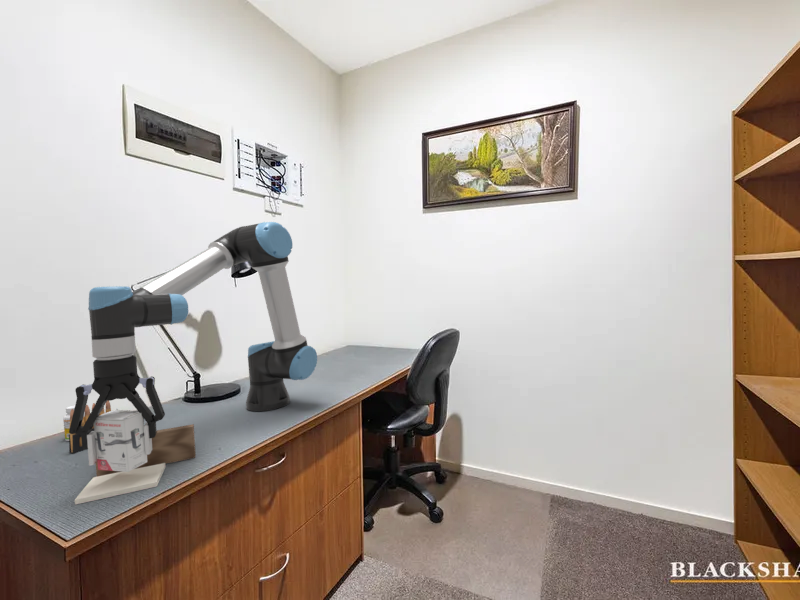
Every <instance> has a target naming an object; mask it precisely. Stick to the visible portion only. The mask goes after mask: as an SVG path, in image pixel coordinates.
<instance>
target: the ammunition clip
mask: <svg viewBox="0 0 800 600" xmlns="http://www.w3.org/2000/svg"><path fill="white" fill-rule="evenodd" d="M95 404H96V402H94V403H92V407H91V409H90V407H89V405H88V404H86V408H85V420H84V417H83V421H82V425H81V426H84V424H85V423H86V421H87V419H88V417H89V415H90V413H91V411H92V410H93V408H94V406H95ZM110 411H112V408H111V402H110V401H108V400H107V402H106V403H105V406H104V407H103V409H102V411H101V413H100V414H99V416H100V415H102V414H104V413H107V412H110ZM73 413H74V410H73V409H71V412H70V425H71V421H72V417H73ZM70 425H69V427H70ZM91 431H94V425H93V427H92V430H91ZM68 447H69V454H73V455H75V454H77V453H79V452H83V451H84V450H83V448H82V439H81V435H80V434H69V441H68Z"/></svg>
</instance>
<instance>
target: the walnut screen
mask: <svg viewBox="0 0 800 600" xmlns="http://www.w3.org/2000/svg"><path fill="white" fill-rule="evenodd" d="M194 425H195V424H187V425H181V426H176V427H175V426H174V427H169V428H164V429H158V430H157V429H156V431H157V433H156V436H155V437H154V438H152V451H151V453H150V454H149V455H147V463H145V464H143V465H141V466H139V467H137V468H142V467H147V466H152V465H157V464H162V463H165V464H171V463H175V462H181V461H186V460H191V459H195V458H196V455H197V454H196V441H195V438H196V437H195V426H194ZM137 468H135V469H137ZM95 472H96V473H95V474H96V475H95V476H96V477H98V476H103V475H107V474H112V473H117V472H122V471H109V470H98V463H97V462H96V463H95Z"/></svg>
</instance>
